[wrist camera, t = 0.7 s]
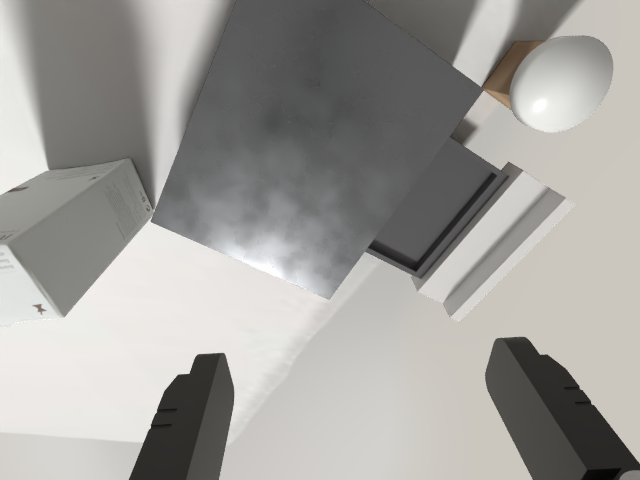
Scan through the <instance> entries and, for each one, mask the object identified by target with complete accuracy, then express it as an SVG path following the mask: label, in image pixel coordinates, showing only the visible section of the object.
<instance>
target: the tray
mask: <svg viewBox="0 0 640 480" xmlns="http://www.w3.org/2000/svg"><path fill="white" fill-rule="evenodd" d="M574 205H575V203H573V202H572V201H570V200H569V199H567V198H566V197H564V196H562V195H560V194H559V193H557V192H555V191H553V190H552V189H550V188H549V187H547V186H546V185H544V184H543V183H541V182H540V181H538V180H537V179H535V178H534V177H533V176H531V175H530V174H528V173H527V172H525V171H524V170H522V169H520V168H518V167H517V166H515V165H513V164H511V163H510V162H508V163H507V164H506V165H505V166H504V168H503V169H502V170H499V169H497V168H496V167H495V166H493V165H491V164H490V163H488V162H487V161H485V160H484V159H482V158H481V157H479V156H478V155H476V154H475V153H473V152H472V151H470V150H469V149H467V148H466V147H464V146H463V145H461V144H460V143H458V142H457V141H455V140H454V139H452V138H451V137H449V138H448V139H447V141H446V142H445V143H444V145H443V146H442V148H441V149H440V150H439V152H438V153H437V154H436V156H435V157H434V158H433V160H432V161H431V162H430V164H429V165H428V167H427V168H426V169H425V171H424V172H423V173H422V175H421V176H420V177H419V179H418V180H417V181H416V183H415V184H414V185H413V187H412V188H411V190H410V191H409V192H408V194H407V195H406V196H405V198H404V199H403V200H402V202H401V203H400V204H399V206H398V207H397V209H396V210H395V211H394V213H393V214H392V215H391V217H390V218H389V219H388V221H387V222H386V223H385V225H384V226H383V228H382V229H381V230H380V232H379V233H378V234H377V236H376V237H375V238H374V240H373V241H372V242H371V244H370V245H369V247H368V248H367V249H366V251H365V252H367V253H369V254H371V255H373V256H375V257H377V258H379V259H381V260H383V261H385V262H387V263H389V264H391V265H393V266H395V267H397V268H399V269H401V270H403V271H405V272H407V273H409V274H411V275H412V277H411V278H412V280H413V283H414V285H415V287H416V289H417V291H418V292H419V293H421V294H424V295H425V296H428V297H430V298H432V299H434V300H436V301H438V302H440V303H442V304H443V305H444V307H445V309H446V311H447V313H448V315H449V317H450V318H452V319H454V320H456V321H458V322H459V321H460V320H461V319H462V318H463V317H464V316H465V315H466V314H467V313H468V312H469V311H470V310H471V309H472V308H473V307H474V306H475V305H476V304H477V303H478V302H479V301H480V300H481V299H482V298H483V297H484V296H485V295H486V294H487V293H488V292H489V291H490V290H491V289H492V288H493V287H494V286H495V285H496V284H497V283H498V282H499V281H500V280H501V279H502V278H503V277H504V276H505V275H506V274H507V273H508V272H509V271H510V270H511V269H512V268H513V267H514V266H515V265H516V264H517V263H518V262H519V261H520V260H521V259H522V258H523V257H524V256H525V255H526V254H527V253H528V252H529V251H530V250H531V249H532V248H533V247H534V246H535V245H536V244H537V243H538V242H539V241H540V240H541V239H542V238H543V237H544V236H545V235H546V234H547V233H548V232H549V231H550V230H551V229H552V228H553V227H554V226H555V225H556V224H557V223H558V222H559V221H560V220H561V219H562V218H563V216H564V215H566V214H567V213H568V212H569V211H570V210H571V209H572V207H574Z"/></svg>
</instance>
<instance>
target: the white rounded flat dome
mask: <svg viewBox="0 0 640 480" xmlns="http://www.w3.org/2000/svg"><path fill="white" fill-rule="evenodd" d="M612 75H613V60H612V56H611V53H610V51H609V49H608V48H607V46H606V45H605V44H604V43H603V42H601V41H600V40H598V39H596V38H594V37H590V36H562V37H557V38H553V39H550V40H548V41H546V42H544V43H542V44H540V45H539V46H537V47H536V48H535V49H534V50H532V51H531V52H530V53H529V54H528V55H527V56H526V57H525V59H524V60H523V61H522V62H521V64H520V65H519V67H518V69H517V70H516V72H515V74H514V77H513V79H512V83H511V86H510V94H509V100H510V106H511V109H512V112H513V114H514V115H515V117H516V118H517V119H518V120H519V121H520V122H521V123H523V124H525V125H527V126H530V127H532V128H535V129H538V130H541V131H544V132H560V131H564V130H567V129H570V128H572V127H574V126H576V125H578V124H580V123H581V122H583V121H584V120H585V119H586V118H588V117H589V116H590V115H591V114H592V113H593V112H594V111H595V110H596V109H597V108H598V106H599V105H600V104H601V102H602V101H603V99H604V97H605V96H606V94H607V91H608V89H609V87H610V84H611V80H612Z"/></svg>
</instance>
